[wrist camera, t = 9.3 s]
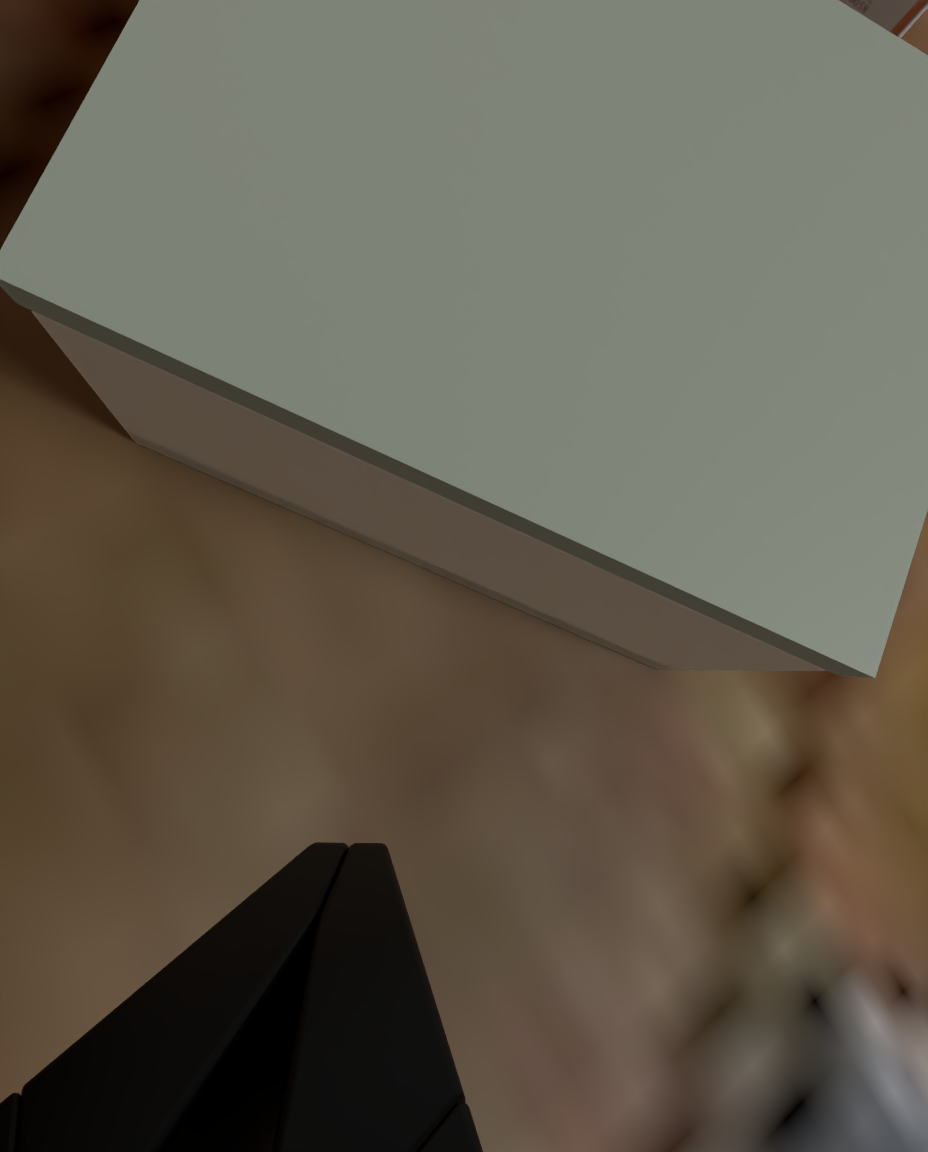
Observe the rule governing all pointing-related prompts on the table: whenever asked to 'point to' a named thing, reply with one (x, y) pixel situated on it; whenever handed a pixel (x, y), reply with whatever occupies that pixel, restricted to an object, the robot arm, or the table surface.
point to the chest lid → (539, 271)
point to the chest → (405, 517)
